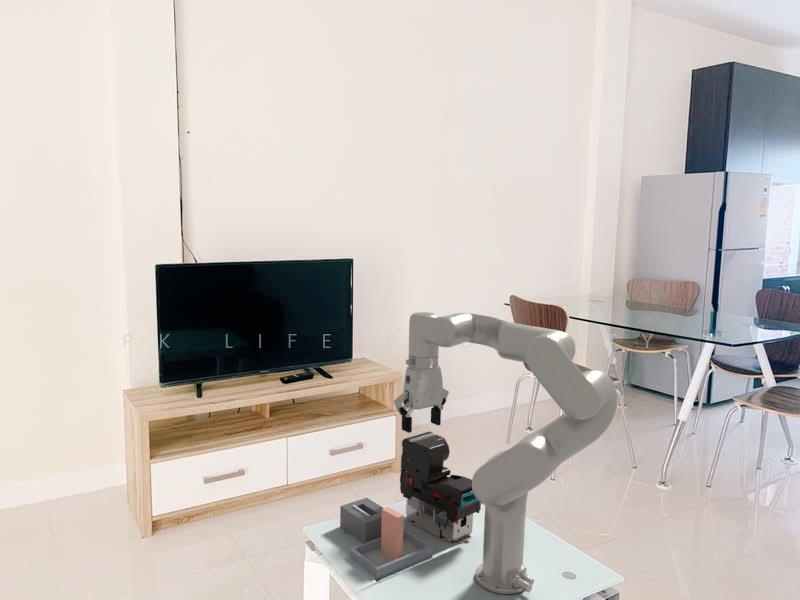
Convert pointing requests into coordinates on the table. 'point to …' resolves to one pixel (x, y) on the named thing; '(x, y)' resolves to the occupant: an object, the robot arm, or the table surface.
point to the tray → (396, 564)
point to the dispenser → (362, 519)
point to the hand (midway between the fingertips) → (421, 427)
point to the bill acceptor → (435, 489)
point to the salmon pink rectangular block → (392, 533)
